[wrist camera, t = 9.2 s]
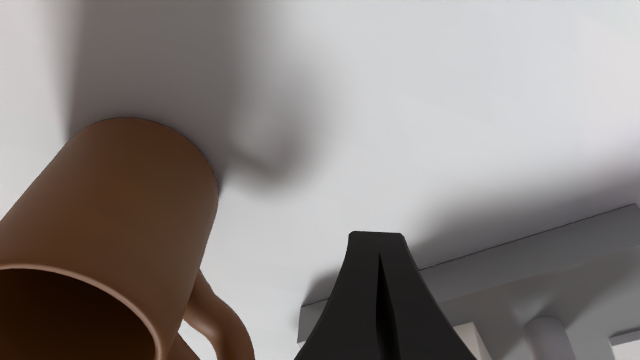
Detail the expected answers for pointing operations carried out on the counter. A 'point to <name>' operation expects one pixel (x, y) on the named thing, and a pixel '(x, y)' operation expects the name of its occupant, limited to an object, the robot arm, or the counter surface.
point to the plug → (472, 340)
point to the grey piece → (544, 292)
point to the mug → (114, 252)
